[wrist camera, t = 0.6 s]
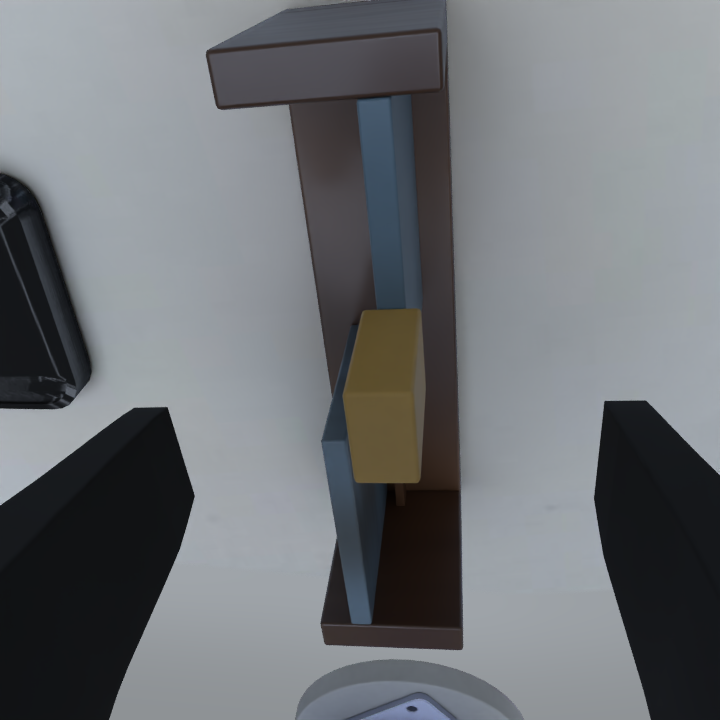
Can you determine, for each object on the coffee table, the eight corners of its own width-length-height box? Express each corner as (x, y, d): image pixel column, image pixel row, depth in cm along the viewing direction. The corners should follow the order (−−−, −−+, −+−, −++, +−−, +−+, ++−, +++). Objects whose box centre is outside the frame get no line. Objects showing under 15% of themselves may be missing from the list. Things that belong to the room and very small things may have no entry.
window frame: (283, 9, 17) (203, 49, 12) (445, -8, 16) (442, 27, 11) (351, 491, 25) (324, 646, 20) (461, 491, 25) (463, 651, 19)
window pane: (370, 51, 16) (306, 150, 9) (421, 47, 16) (395, 143, 9) (391, 300, 20) (357, 508, 13) (433, 298, 20) (422, 509, 13)
